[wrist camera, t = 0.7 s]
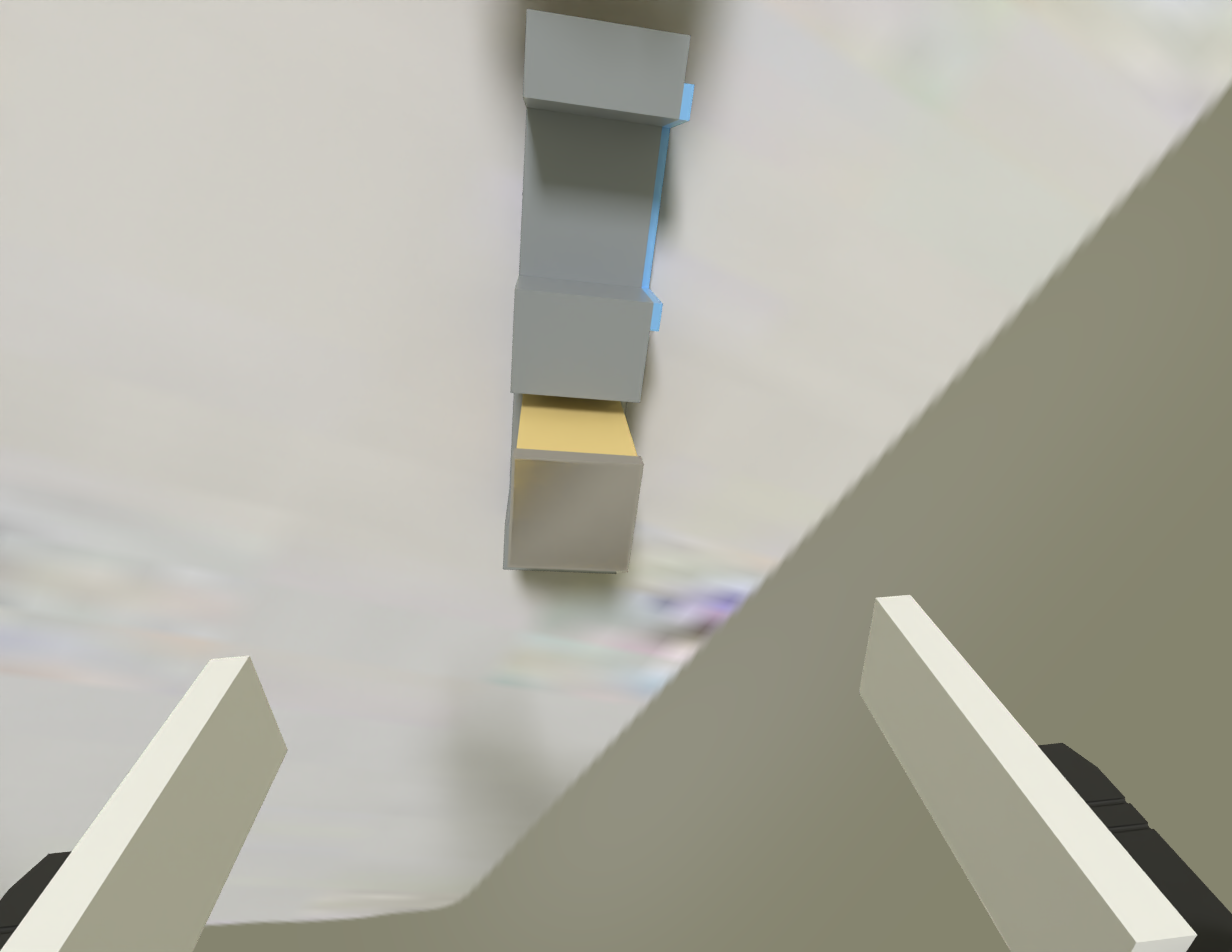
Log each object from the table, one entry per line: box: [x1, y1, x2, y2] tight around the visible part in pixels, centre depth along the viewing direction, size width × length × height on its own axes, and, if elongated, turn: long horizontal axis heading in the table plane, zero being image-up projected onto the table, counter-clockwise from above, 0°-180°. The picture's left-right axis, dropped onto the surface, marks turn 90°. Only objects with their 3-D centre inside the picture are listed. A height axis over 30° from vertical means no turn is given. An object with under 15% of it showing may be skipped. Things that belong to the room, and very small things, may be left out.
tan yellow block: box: [508, 394, 644, 572], centre depth 29 cm, size 5×5×9 cm
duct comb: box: [503, 9, 694, 574], centre depth 30 cm, size 6×24×5 cm, turn 173°
